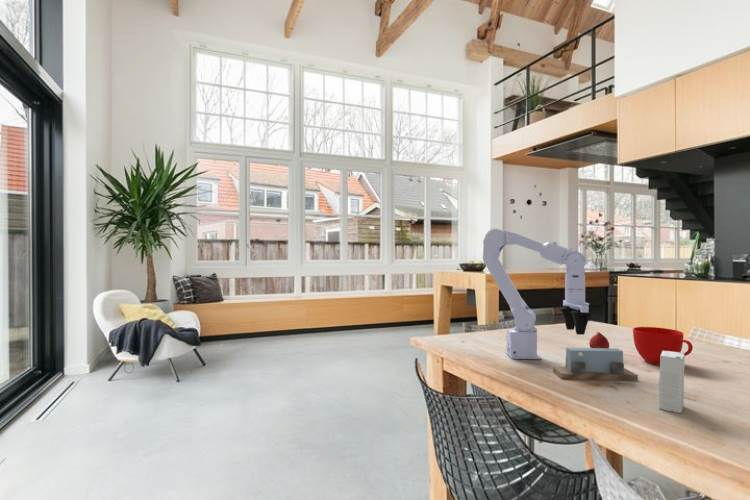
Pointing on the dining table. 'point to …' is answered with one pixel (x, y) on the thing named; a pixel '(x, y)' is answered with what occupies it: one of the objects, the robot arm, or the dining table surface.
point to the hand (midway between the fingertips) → (575, 331)
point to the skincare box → (671, 381)
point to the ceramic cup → (658, 342)
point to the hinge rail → (595, 373)
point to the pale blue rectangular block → (593, 358)
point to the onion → (599, 341)
